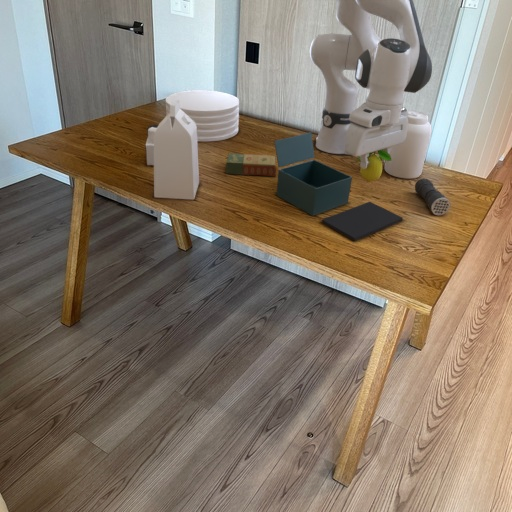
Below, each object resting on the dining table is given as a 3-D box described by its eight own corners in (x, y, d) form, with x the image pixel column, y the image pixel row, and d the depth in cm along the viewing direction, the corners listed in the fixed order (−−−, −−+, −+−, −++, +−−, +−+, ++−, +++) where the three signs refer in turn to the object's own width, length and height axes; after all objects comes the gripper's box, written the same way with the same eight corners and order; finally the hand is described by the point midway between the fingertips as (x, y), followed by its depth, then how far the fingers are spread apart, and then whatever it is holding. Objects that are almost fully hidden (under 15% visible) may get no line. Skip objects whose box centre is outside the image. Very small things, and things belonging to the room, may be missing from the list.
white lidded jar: (376, 171, 169) (388, 112, 158) (395, 162, 177) (407, 105, 166) (409, 182, 162) (424, 122, 151) (427, 172, 170) (442, 114, 159)
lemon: (386, 184, 131) (394, 148, 126) (370, 189, 128) (378, 152, 123) (368, 175, 136) (375, 140, 130) (352, 179, 133) (359, 143, 127)
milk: (162, 180, 154) (157, 95, 140) (199, 182, 154) (198, 97, 140) (154, 197, 144) (148, 107, 130) (193, 199, 144) (192, 110, 130)
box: (276, 195, 149) (278, 169, 145) (311, 184, 157) (314, 159, 153) (312, 215, 139) (316, 188, 135) (347, 203, 147) (352, 177, 143)
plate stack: (236, 143, 185) (237, 112, 179) (161, 139, 184) (159, 108, 178) (239, 120, 208) (240, 92, 202) (172, 116, 208) (171, 88, 202)
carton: (274, 177, 161) (275, 164, 158) (225, 173, 161) (225, 161, 159) (275, 166, 168) (276, 154, 165) (227, 163, 168) (228, 151, 166)
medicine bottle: (148, 157, 169) (146, 122, 163) (170, 157, 170) (168, 123, 163) (146, 165, 163) (144, 129, 157) (168, 165, 164) (167, 130, 157)
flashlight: (411, 192, 156) (415, 176, 153) (428, 192, 157) (432, 176, 154) (429, 215, 143) (434, 198, 140) (447, 215, 144) (452, 198, 141)
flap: (279, 167, 144) (278, 167, 145) (314, 157, 152) (314, 157, 153) (274, 140, 142) (274, 140, 143) (311, 132, 150) (310, 132, 150)
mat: (369, 204, 147) (369, 201, 147) (402, 220, 140) (402, 217, 139) (321, 222, 136) (321, 219, 136) (354, 241, 129) (354, 238, 128)
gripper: (398, 103, 129) (388, 153, 137) (344, 114, 118) (336, 169, 126) (418, 109, 125) (406, 161, 133) (365, 122, 114) (355, 177, 122)
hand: (372, 165), depth 129 cm, fingers closed on lemon, 5 cm apart
